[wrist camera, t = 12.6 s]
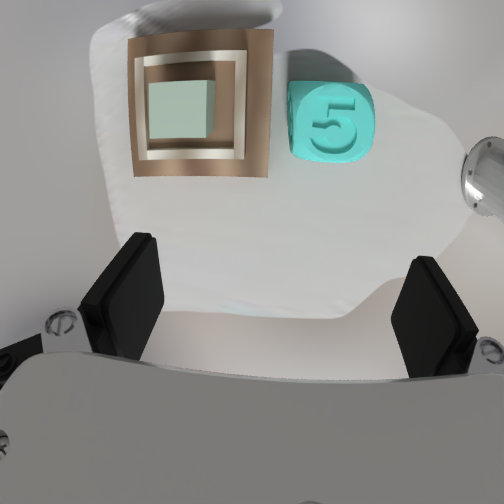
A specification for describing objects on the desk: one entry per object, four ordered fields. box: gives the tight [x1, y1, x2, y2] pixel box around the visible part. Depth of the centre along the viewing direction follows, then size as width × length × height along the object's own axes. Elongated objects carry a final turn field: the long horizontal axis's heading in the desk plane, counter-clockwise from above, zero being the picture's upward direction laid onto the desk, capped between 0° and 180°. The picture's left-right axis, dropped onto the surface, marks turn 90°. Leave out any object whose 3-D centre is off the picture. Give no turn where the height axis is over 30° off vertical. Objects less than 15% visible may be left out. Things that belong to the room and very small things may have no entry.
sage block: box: [149, 80, 216, 139], centre depth 25 cm, size 5×5×5 cm
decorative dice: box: [287, 81, 375, 163], centre depth 29 cm, size 8×8×8 cm
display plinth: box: [128, 29, 274, 178], centre depth 29 cm, size 16×17×7 cm
